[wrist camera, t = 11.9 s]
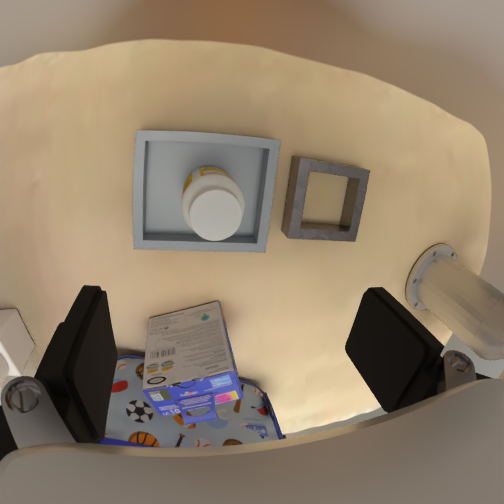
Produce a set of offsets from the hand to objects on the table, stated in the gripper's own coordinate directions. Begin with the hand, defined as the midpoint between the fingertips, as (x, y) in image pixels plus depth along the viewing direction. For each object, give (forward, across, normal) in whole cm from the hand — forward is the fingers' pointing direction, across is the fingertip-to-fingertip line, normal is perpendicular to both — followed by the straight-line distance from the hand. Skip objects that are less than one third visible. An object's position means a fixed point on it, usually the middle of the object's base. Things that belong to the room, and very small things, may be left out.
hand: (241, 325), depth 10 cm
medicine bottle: (+23, +30, +21) cm, 44 cm away
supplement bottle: (+23, 0, 0) cm, 23 cm away
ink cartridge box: (+24, +1, +18) cm, 30 cm away
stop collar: (+23, -14, 0) cm, 27 cm away
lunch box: (+24, +1, +30) cm, 38 cm away
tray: (+23, 0, 0) cm, 23 cm away
